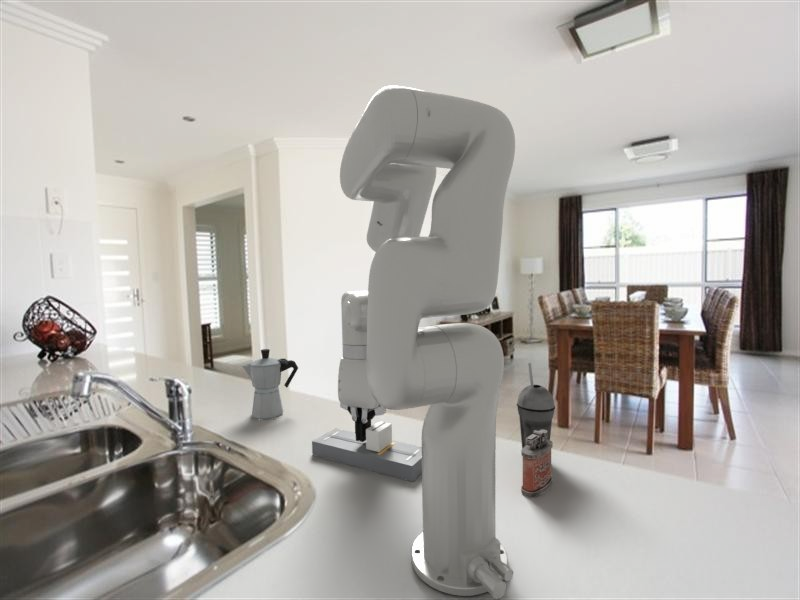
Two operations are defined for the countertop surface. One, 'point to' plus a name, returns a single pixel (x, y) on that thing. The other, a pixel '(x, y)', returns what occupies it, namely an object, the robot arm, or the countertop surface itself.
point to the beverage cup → (535, 409)
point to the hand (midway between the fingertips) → (363, 438)
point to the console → (370, 454)
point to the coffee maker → (268, 384)
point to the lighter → (536, 464)
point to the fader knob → (378, 436)
